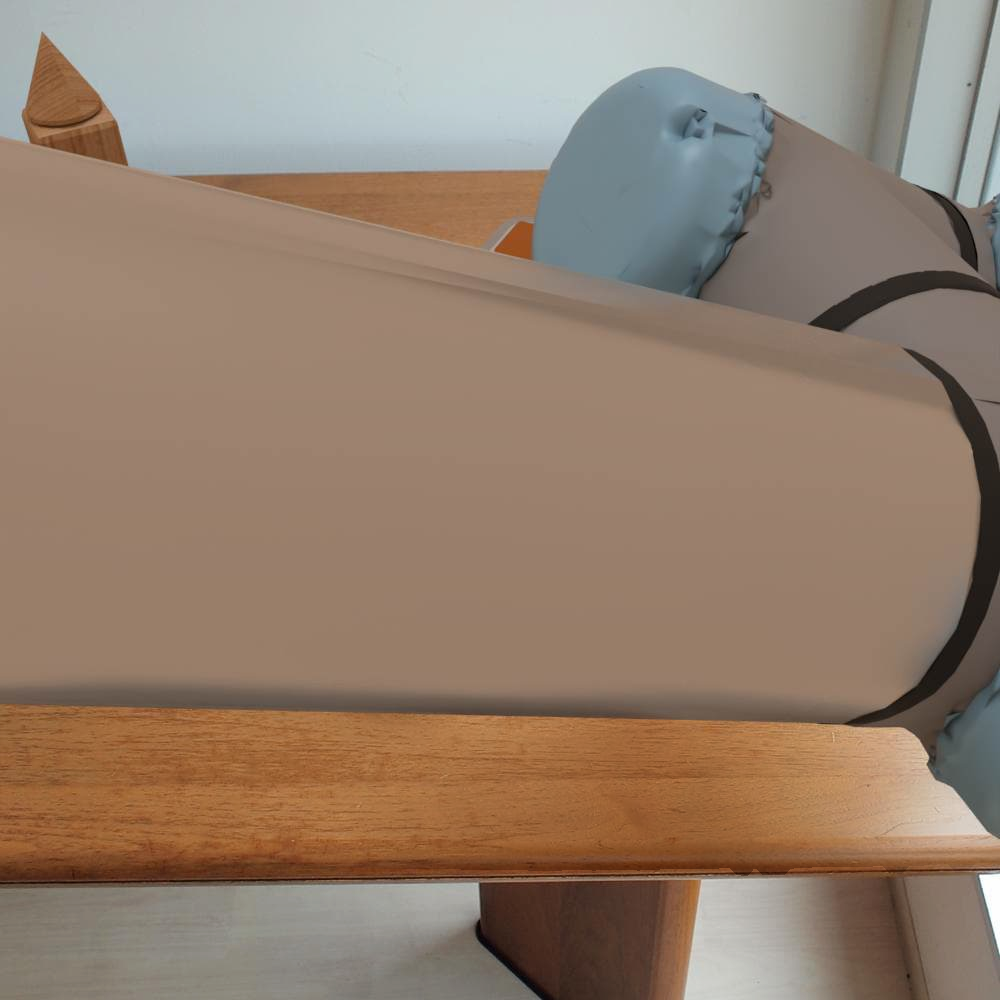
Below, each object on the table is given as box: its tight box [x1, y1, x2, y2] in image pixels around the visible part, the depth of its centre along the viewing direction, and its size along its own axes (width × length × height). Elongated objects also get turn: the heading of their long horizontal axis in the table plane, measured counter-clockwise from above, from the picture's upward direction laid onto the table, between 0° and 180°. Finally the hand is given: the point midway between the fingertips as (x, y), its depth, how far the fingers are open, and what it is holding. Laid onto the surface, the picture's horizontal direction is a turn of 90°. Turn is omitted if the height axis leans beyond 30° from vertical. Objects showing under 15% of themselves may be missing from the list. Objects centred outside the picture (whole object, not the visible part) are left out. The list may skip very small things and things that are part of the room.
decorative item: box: [21, 31, 129, 166], centre depth 103 cm, size 7×7×20 cm
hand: (459, 554), depth 64 cm, fingers open, 13 cm apart
